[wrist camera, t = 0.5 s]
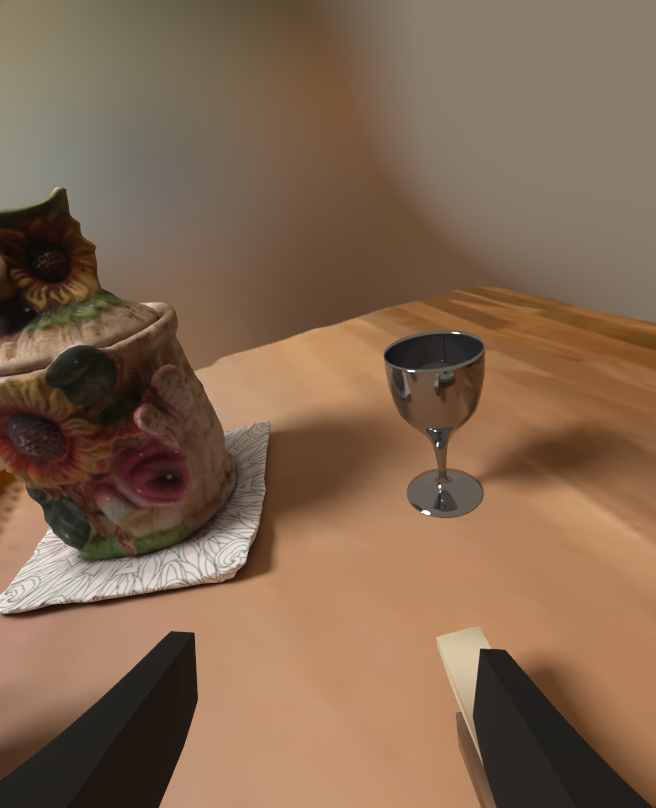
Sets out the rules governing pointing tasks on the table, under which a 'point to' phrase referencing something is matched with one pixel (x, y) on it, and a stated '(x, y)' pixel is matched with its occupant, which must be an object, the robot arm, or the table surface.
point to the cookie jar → (111, 430)
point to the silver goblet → (438, 409)
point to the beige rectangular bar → (463, 668)
